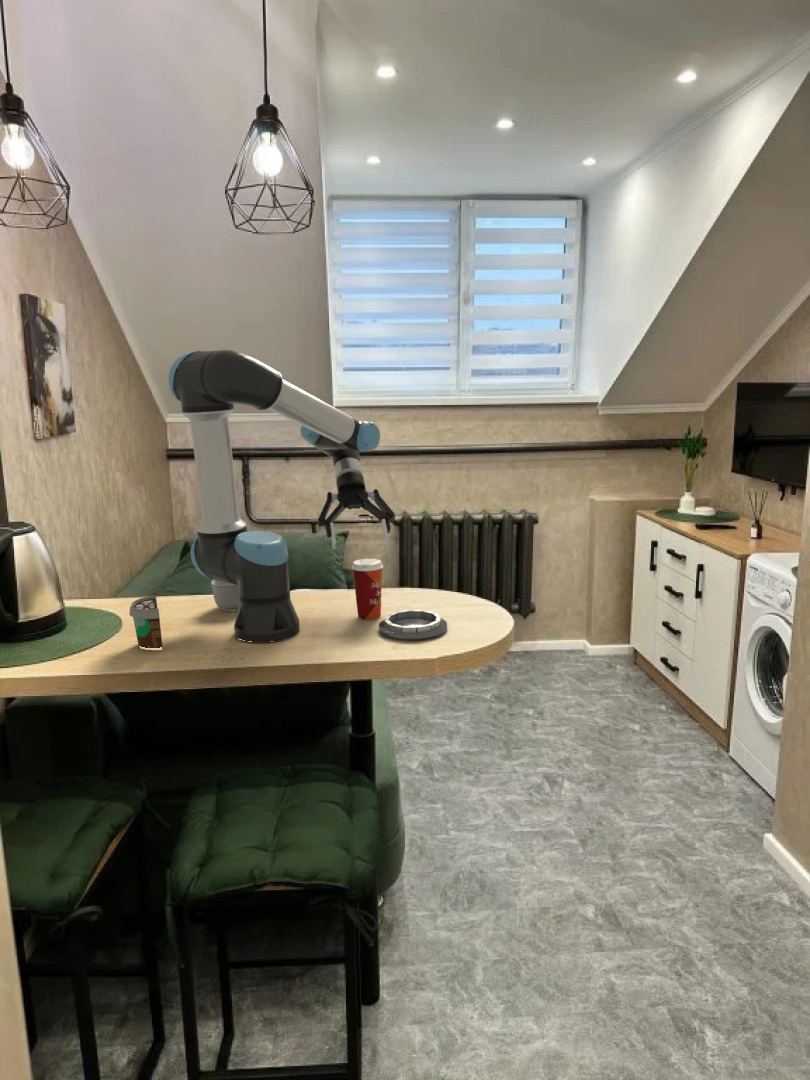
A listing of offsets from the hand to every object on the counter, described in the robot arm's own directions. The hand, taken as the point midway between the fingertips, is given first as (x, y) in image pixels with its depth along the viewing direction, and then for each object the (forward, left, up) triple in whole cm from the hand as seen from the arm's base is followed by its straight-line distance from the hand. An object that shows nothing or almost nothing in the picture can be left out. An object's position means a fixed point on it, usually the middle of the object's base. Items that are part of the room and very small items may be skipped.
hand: (360, 544), depth 193 cm
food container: (-44, -33, -16) cm, 57 cm away
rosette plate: (+15, -19, -16) cm, 29 cm away
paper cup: (+3, -10, -16) cm, 19 cm away
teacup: (-34, -3, -16) cm, 37 cm away
